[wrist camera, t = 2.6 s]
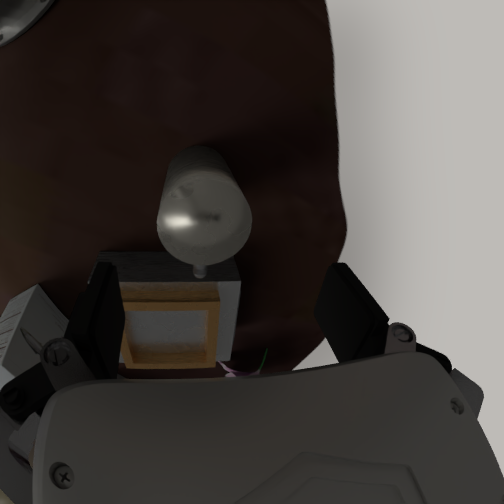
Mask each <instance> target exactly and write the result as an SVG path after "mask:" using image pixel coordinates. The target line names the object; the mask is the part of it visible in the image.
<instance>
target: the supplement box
mask: <svg viewBox="0 0 504 504" xmlns="http://www.w3.org/2000/svg"><path fill="white" fill-rule="evenodd" d="M68 322H69V320H68V319H67V318H66V317H65V316H64V315H63V314H62V313H61V312H60V310H59V309H58V308H57V307H56V306H55V305H54V303H53V302H52V301H51V300H50V299H49V297H48V296H47V295H46V294H45V292H44V291H43V290H42V288H41V287H40V286H39V284H37V285H35V286H33V287H31V288H29V289H28V290H26V291H24V292H23V293H21V294H19V295H17V296H16V297H14V298H13V299H11V300H10V301H9V303H8V305H7V307H6V309H5V310H4V312H3V314H2V316H1V318H0V390H1V389H2V387H3V386H4V385H5V384H6V383H8V382H9V381H11V380H12V379H14V378H15V377H17V376H18V375H20V374H22V373H23V372H25V371H26V370H28V369H30V368H31V367H33V366H34V365H36V364H37V363H39V362H41V360H40V351H41V349H42V347H43V346H44V345H45V343H47V342H48V341H49V340H52V339H54V338H63V337H64V334H65V331H66V328H67V325H68Z"/></svg>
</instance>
